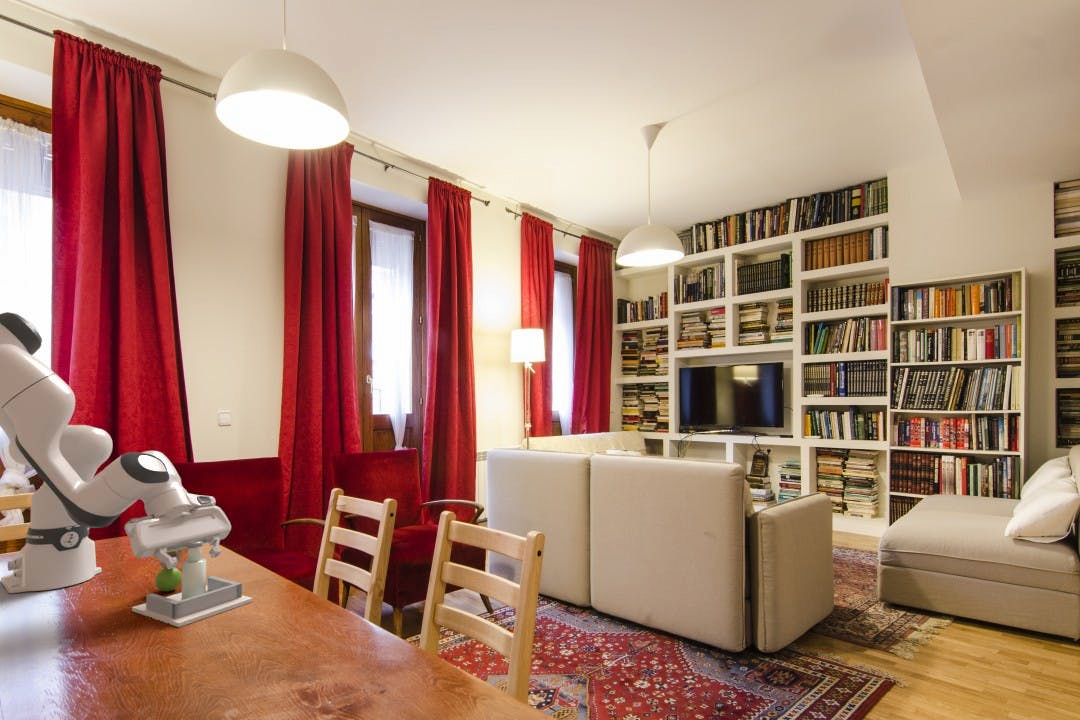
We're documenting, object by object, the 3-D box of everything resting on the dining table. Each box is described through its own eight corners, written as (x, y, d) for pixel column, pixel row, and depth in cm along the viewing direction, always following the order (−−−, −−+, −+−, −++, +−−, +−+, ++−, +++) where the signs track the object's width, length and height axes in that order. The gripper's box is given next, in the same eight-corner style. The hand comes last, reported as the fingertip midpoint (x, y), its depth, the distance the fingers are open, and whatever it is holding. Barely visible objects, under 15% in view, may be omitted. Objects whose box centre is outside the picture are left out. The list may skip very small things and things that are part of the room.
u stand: (132, 610, 127) (132, 593, 127) (205, 588, 141) (206, 572, 141) (178, 627, 118) (179, 607, 118) (252, 601, 132) (252, 584, 132)
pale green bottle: (176, 604, 128) (178, 543, 129) (198, 597, 132) (199, 538, 133) (188, 607, 126) (189, 546, 127) (209, 601, 130) (211, 541, 131)
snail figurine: (172, 595, 136) (173, 543, 136) (149, 594, 137) (150, 542, 138) (190, 587, 141) (191, 537, 142) (168, 586, 142) (168, 536, 143)
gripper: (127, 511, 125) (150, 564, 120) (220, 495, 143) (244, 541, 137) (115, 530, 127) (138, 583, 122) (209, 512, 145) (232, 558, 139)
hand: (195, 561), depth 130 cm, fingers open, 8 cm apart
